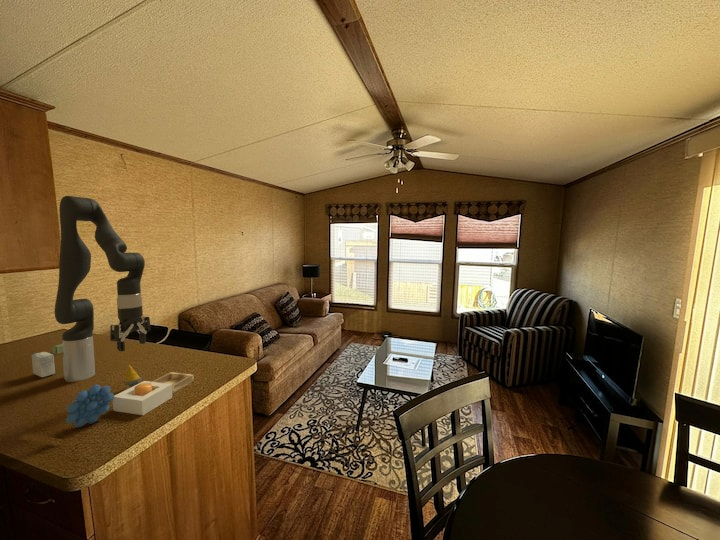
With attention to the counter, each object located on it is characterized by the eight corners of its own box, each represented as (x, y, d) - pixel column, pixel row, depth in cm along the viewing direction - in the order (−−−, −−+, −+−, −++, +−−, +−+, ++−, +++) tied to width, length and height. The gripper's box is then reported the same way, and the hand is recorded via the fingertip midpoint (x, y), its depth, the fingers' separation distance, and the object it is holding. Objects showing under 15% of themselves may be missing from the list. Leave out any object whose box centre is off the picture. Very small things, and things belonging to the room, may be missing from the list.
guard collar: (113, 410, 103) (112, 396, 102) (145, 393, 114) (144, 380, 114) (142, 415, 100) (142, 400, 100) (172, 397, 112) (171, 384, 111)
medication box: (55, 355, 151) (55, 347, 151) (52, 353, 152) (51, 346, 151) (83, 346, 163) (83, 339, 162) (79, 345, 164) (79, 338, 163)
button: (131, 401, 105) (130, 388, 105) (144, 394, 110) (143, 382, 110) (143, 402, 104) (142, 390, 104) (155, 395, 109) (155, 383, 109)
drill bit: (133, 391, 114) (127, 366, 114) (122, 392, 116) (116, 367, 115) (146, 385, 120) (140, 360, 119) (135, 386, 121) (129, 362, 120)
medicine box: (55, 373, 130) (54, 354, 129) (41, 377, 126) (39, 357, 125) (46, 370, 133) (45, 351, 132) (32, 374, 129) (30, 354, 128)
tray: (147, 391, 116) (147, 384, 116) (170, 378, 127) (170, 372, 126) (172, 394, 114) (171, 387, 113) (193, 381, 124) (193, 374, 124)
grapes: (110, 410, 103) (108, 376, 102) (117, 417, 99) (115, 381, 98) (63, 427, 93) (60, 389, 92) (69, 435, 89) (66, 396, 88)
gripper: (139, 301, 122) (141, 340, 124) (102, 308, 108) (105, 352, 110) (154, 302, 121) (156, 342, 122) (119, 310, 107) (122, 354, 108)
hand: (132, 347), depth 116 cm, fingers open, 8 cm apart
